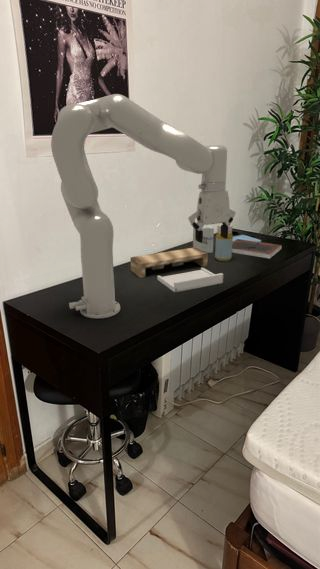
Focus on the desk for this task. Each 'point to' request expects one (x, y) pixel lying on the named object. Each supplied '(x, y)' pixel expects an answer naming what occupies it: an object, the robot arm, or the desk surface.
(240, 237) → the waterproof phone case
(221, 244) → the bottle
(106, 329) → the desk surface
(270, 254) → the book
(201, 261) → the oak overhang
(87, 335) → the desk surface
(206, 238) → the ink box
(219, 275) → the white flat rectangular tray
